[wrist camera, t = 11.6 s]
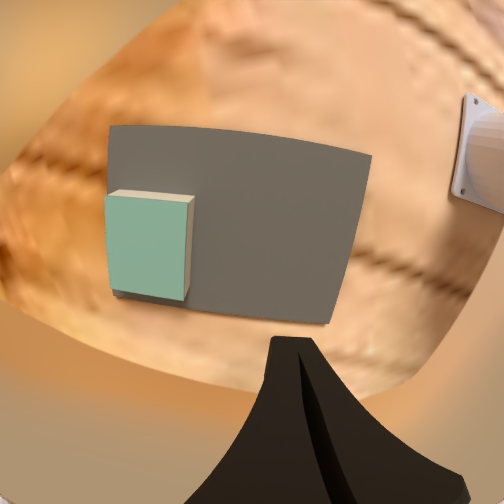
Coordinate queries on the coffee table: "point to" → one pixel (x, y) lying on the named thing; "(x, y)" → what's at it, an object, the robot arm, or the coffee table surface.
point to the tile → (149, 242)
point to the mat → (251, 215)
